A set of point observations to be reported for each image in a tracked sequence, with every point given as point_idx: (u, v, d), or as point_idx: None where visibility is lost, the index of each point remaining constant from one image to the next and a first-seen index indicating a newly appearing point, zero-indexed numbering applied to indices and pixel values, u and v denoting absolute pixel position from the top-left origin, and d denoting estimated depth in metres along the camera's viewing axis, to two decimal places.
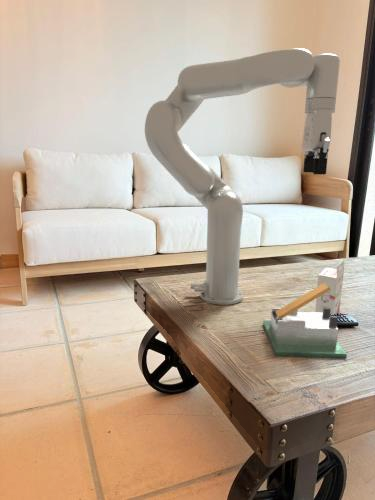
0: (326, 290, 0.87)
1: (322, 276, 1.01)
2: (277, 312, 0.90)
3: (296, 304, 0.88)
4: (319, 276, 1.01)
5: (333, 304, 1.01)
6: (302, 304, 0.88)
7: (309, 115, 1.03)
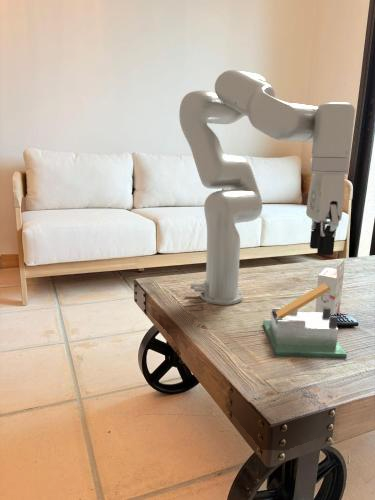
0: (326, 290, 0.87)
1: (322, 276, 1.01)
2: (277, 312, 0.90)
3: (296, 304, 0.88)
4: (319, 276, 1.01)
5: (333, 304, 1.01)
6: (302, 304, 0.88)
7: (316, 177, 0.82)
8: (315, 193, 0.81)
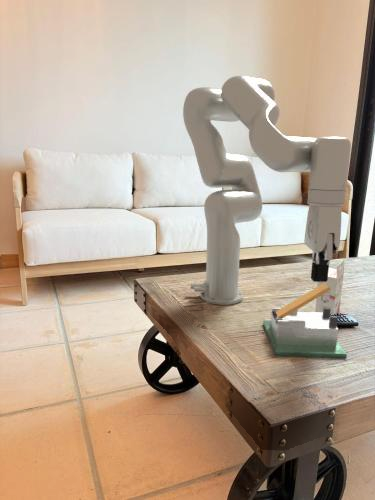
0: (326, 290, 0.87)
1: None
2: (277, 312, 0.90)
3: (296, 304, 0.88)
4: None
5: (333, 304, 1.01)
6: (302, 304, 0.88)
7: (313, 208, 0.83)
8: (313, 224, 0.83)
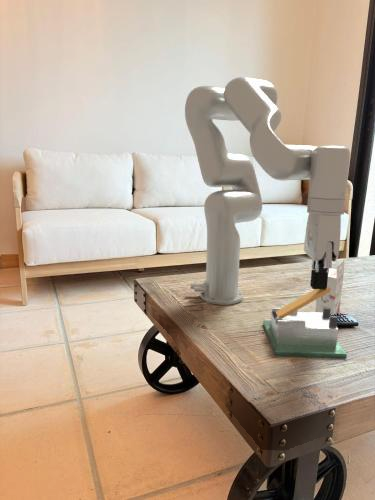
0: (327, 291, 0.87)
1: None
2: (277, 312, 0.90)
3: (296, 304, 0.88)
4: None
5: (333, 304, 1.01)
6: (302, 304, 0.88)
7: (312, 216, 0.84)
8: (312, 232, 0.83)
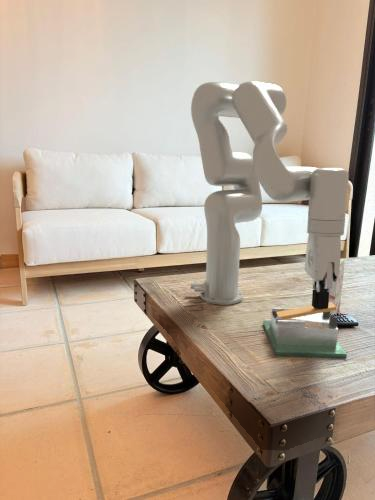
0: (333, 309, 0.88)
1: None
2: (278, 313, 0.91)
3: (299, 311, 0.89)
4: None
5: None
6: (306, 313, 0.88)
7: (312, 237, 0.84)
8: (312, 253, 0.84)
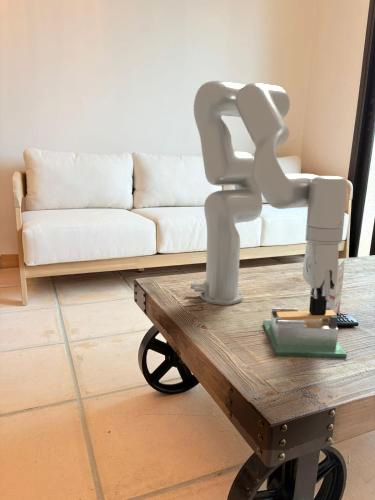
0: None
1: None
2: (278, 313, 0.91)
3: (300, 314, 0.89)
4: None
5: (333, 304, 1.01)
6: (306, 317, 0.88)
7: (311, 244, 0.85)
8: (310, 260, 0.85)
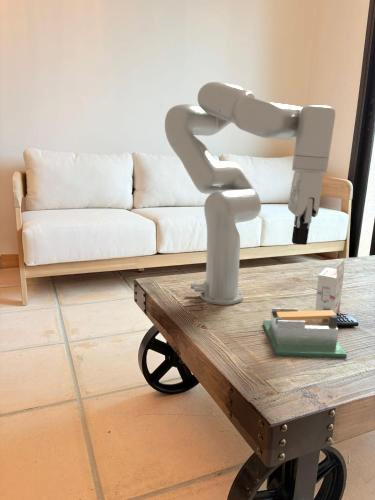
0: None
1: (322, 276, 1.01)
2: (278, 313, 0.91)
3: (300, 315, 0.89)
4: (319, 276, 1.01)
5: (333, 304, 1.01)
6: (306, 317, 0.88)
7: (297, 174, 0.88)
8: (295, 189, 0.88)
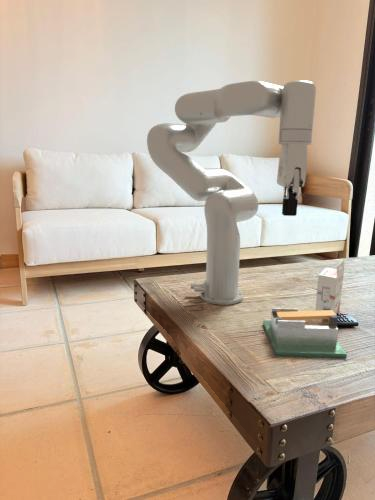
0: None
1: (322, 276, 1.01)
2: (278, 313, 0.91)
3: (300, 315, 0.89)
4: (319, 276, 1.01)
5: (333, 304, 1.01)
6: (306, 317, 0.88)
7: (283, 147, 0.93)
8: (282, 161, 0.93)
